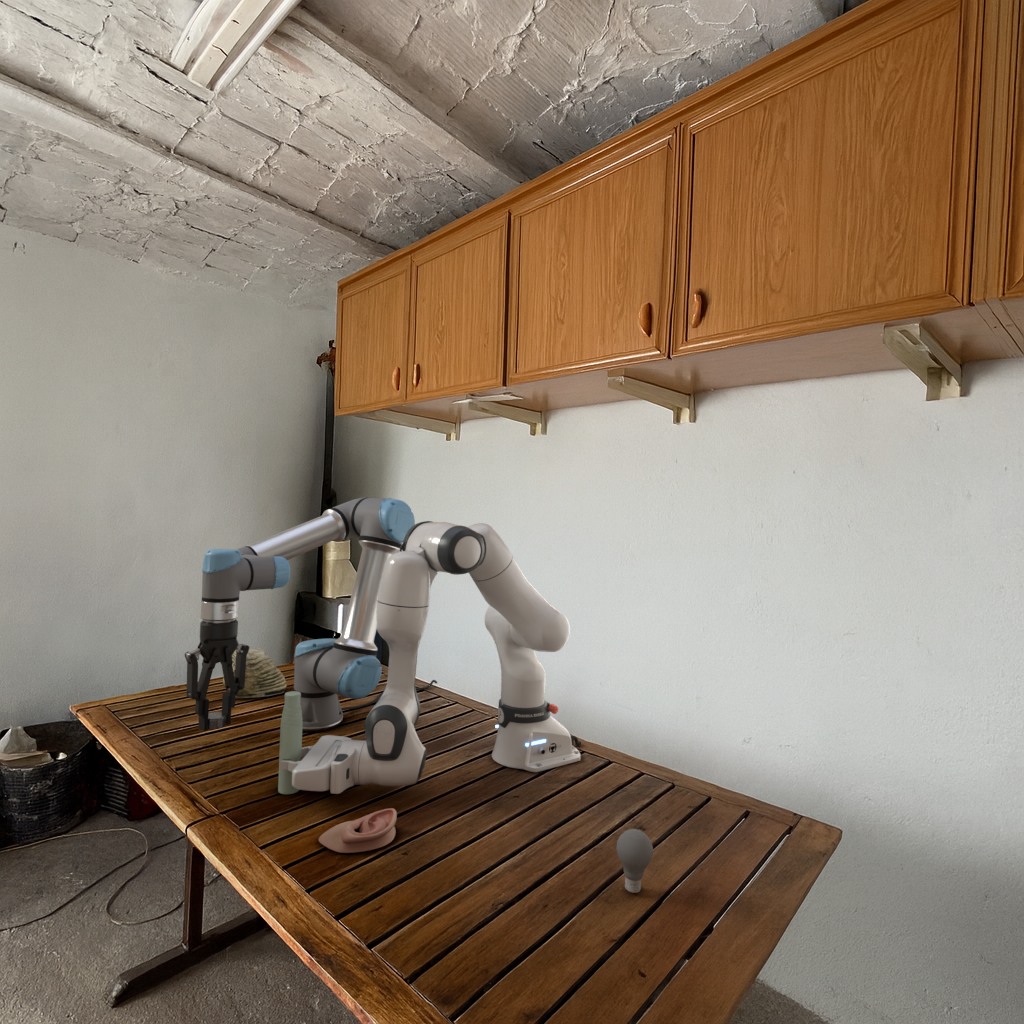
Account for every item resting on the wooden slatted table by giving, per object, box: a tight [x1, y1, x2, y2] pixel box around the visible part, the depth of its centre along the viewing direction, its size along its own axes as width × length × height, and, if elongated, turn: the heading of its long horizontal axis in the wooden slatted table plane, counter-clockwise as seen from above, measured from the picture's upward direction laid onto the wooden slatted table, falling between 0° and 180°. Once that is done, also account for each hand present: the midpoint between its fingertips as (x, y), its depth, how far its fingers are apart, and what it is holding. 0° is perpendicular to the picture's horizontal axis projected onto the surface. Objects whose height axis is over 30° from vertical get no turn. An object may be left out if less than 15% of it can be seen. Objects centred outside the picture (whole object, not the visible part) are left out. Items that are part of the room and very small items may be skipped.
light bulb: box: [615, 828, 654, 894], centre depth 106 cm, size 6×6×10 cm
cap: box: [208, 711, 227, 730], centre depth 139 cm, size 4×5×2 cm
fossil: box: [222, 647, 288, 699], centre depth 198 cm, size 9×18×15 cm, turn 132°
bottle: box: [277, 690, 303, 795], centre depth 136 cm, size 4×4×21 cm
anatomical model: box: [318, 807, 398, 854], centre depth 118 cm, size 13×4×12 cm
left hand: (214, 725), depth 139 cm, fingers closed on cap, 4 cm apart
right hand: (286, 758), depth 136 cm, fingers closed on bottle, 4 cm apart
